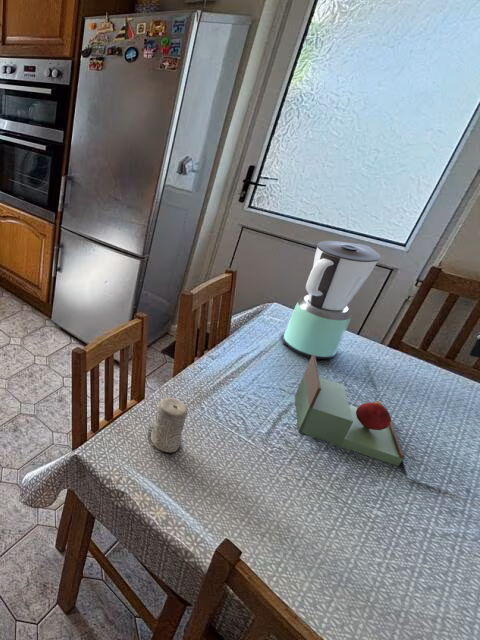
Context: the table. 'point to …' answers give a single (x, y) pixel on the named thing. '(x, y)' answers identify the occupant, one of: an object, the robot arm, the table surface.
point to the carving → (168, 424)
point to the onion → (373, 416)
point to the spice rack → (340, 419)
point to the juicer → (329, 298)
